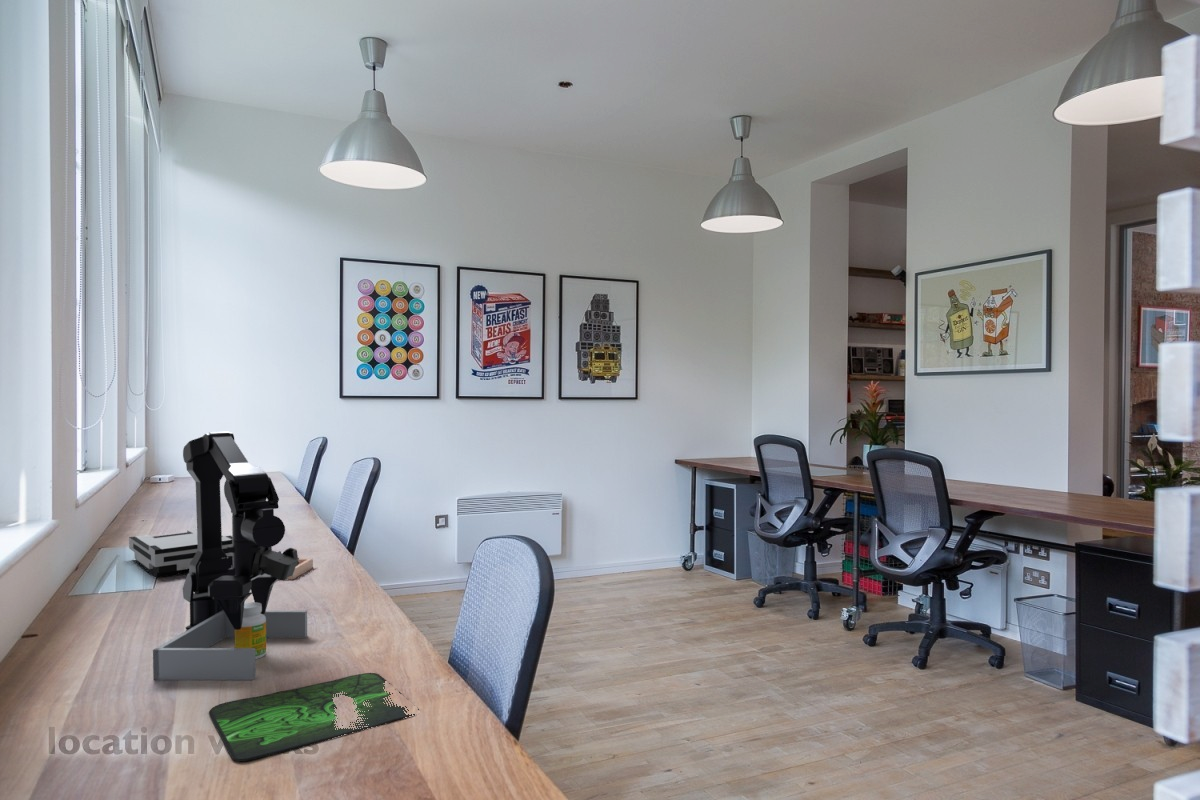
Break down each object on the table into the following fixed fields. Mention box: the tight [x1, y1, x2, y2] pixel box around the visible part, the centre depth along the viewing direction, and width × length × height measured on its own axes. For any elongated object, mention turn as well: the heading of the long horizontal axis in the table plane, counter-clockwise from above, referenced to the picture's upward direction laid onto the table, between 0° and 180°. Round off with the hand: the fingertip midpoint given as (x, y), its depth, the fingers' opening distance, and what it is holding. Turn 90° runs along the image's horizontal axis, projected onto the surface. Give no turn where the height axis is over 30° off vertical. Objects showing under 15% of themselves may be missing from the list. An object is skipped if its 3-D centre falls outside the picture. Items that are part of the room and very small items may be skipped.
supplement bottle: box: [234, 601, 267, 660], centre depth 142 cm, size 5×5×10 cm
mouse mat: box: [208, 672, 415, 762], centre depth 118 cm, size 27×22×1 cm
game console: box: [128, 528, 233, 578], centre depth 218 cm, size 21×32×8 cm, turn 43°
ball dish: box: [286, 558, 314, 580], centre depth 206 cm, size 13×13×2 cm
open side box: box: [152, 610, 308, 681], centre depth 142 cm, size 18×23×5 cm
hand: (250, 621), depth 142 cm, fingers open, 9 cm apart
